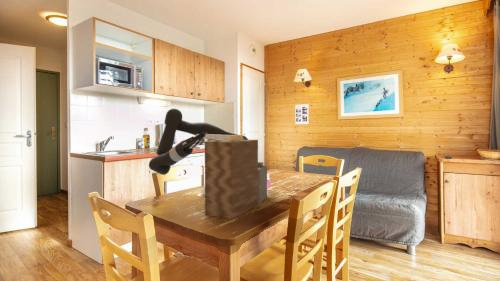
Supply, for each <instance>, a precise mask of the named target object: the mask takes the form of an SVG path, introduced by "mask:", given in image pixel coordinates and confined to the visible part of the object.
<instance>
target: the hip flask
mask: <svg viewBox="0 0 500 281" xmlns="http://www.w3.org/2000/svg"><path fill="white" fill-rule="evenodd" d="M266 198H268V165H267V164H264V162H263V161H258V205H261V204H262V202H263V201H264V200H265V199H266Z"/></svg>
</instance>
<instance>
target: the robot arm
mask: <svg viewBox="0 0 500 281" xmlns="http://www.w3.org/2000/svg"><path fill="white" fill-rule="evenodd" d="M165 113H166V114H165V118H164V125H165V126H164V130H163V132H162V134H161V138H160V141H159V143H158V146H157V150H156V156H154V157H153V158H151V160H150V161H149V162H148V163H149V164H148V167H149V169H150V170H152V171H153V172H155V173H158V174H160V175H163V176H166V175H168V173H169V172H170V169H171V166H174V165H175V164H177V163H179V162H180V161H182V160H184V159H185V158H186V157H188V156H190V155H191V154H192V153H193V152H194V150H193V149H195V148H196V147H197V146H202V145H203V143H205V141H206V139H202V138H203V137H204V136H205V134H215V135H238V134H236V133H232V132H228V131H226V130H224V129H222V128H220V127H218V126H216V125H214V124H211V123H208V122H189V121H186V120H183V113H182V111H180V110H179V109H177V108H170V109H169V110H167V112H165ZM177 131H178V132H183V133H188V134H190V135H193V136H191V137H189V138H187V139H184V140H180V142H178V143H177V144H176V145H174V141H175V136H176V132H177ZM196 134H199V135H197V136H196ZM243 138H247V140H249V139H248V137H247V136H245V135H243ZM207 140H214V139H207Z"/></svg>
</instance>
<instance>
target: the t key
mask: <svg viewBox="0 0 500 281" xmlns="http://www.w3.org/2000/svg"><path fill="white" fill-rule="evenodd" d="M197 135H199V134H196V135H195V136H197ZM243 136H244V135H243V134H237V135H215V134H205V136H204V137H203V138H202V139H204V140H208V139H222V140H232V141H234V140H243Z"/></svg>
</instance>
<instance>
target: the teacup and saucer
mask: <svg viewBox="0 0 500 281" xmlns="http://www.w3.org/2000/svg"><path fill="white" fill-rule="evenodd" d="M201 195H202V197H204V198H205V187H201V192H200V193H198V194H197V196H198V197H201Z"/></svg>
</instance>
